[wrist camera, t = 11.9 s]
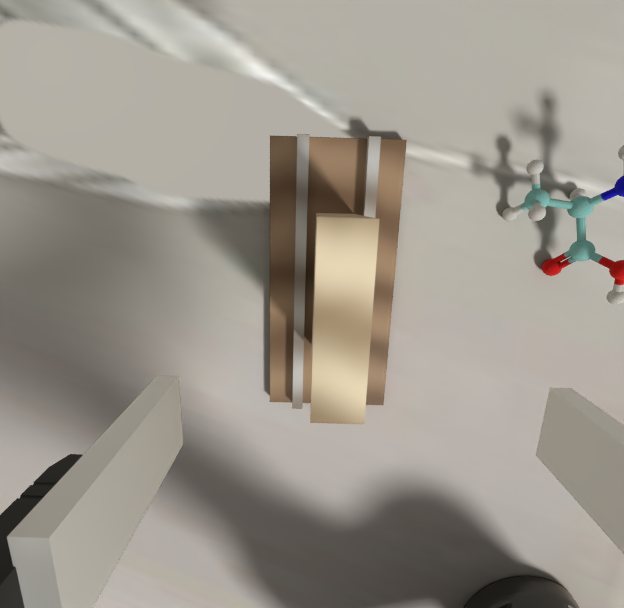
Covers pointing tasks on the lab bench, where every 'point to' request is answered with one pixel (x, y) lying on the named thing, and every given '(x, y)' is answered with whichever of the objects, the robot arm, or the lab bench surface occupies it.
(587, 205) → the molecular model
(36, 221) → the lab bench surface
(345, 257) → the door panel
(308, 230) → the track board
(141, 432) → the robot arm
